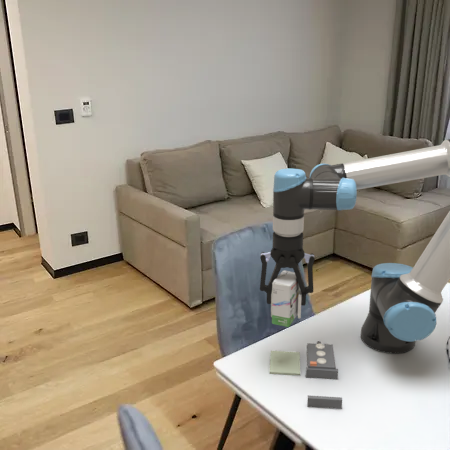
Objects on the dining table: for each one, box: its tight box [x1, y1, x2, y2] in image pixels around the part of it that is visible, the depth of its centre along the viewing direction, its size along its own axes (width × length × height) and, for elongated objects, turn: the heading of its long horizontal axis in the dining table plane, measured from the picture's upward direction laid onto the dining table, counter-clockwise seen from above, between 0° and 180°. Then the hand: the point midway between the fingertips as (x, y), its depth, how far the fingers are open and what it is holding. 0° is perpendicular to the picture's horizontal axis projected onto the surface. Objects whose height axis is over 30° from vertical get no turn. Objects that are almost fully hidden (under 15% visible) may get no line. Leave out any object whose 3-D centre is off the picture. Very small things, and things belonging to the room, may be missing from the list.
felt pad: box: [268, 350, 301, 377], centre depth 139 cm, size 8×10×1 cm
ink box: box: [271, 270, 301, 328], centre depth 133 cm, size 8×5×12 cm, turn 154°
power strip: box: [305, 340, 343, 410], centre depth 135 cm, size 8×28×4 cm, turn 173°
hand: (285, 314), depth 135 cm, fingers closed on ink box, 6 cm apart
